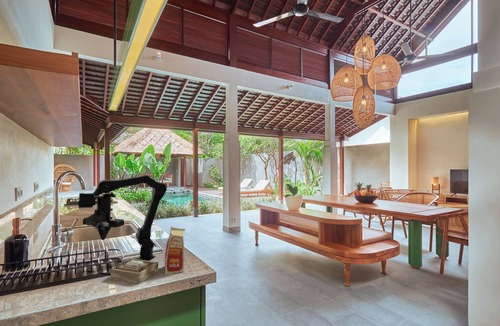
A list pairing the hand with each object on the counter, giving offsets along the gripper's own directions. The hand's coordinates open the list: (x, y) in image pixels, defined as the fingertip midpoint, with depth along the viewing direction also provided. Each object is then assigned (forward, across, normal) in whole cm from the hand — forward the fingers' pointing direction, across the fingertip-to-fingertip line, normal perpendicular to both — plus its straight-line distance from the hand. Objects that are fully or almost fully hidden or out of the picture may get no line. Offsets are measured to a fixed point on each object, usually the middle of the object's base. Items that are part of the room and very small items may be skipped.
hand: (103, 239), depth 124 cm
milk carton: (+12, +34, +7) cm, 37 cm away
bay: (+12, +20, -4) cm, 24 cm away
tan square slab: (+12, +20, -4) cm, 23 cm away
